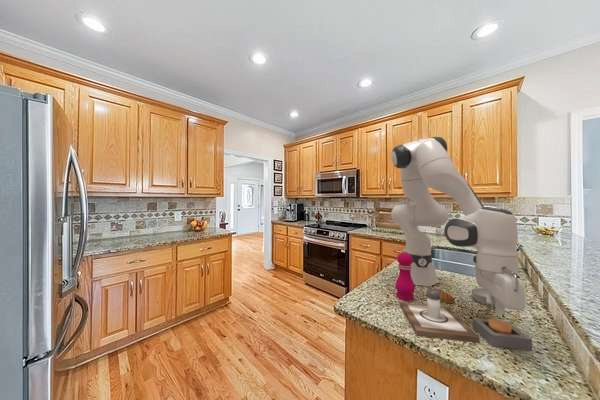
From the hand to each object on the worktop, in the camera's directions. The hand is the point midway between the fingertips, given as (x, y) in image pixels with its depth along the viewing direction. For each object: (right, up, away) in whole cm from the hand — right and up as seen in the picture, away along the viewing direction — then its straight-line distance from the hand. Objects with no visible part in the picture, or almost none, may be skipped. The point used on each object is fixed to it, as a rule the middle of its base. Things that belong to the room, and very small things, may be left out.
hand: (497, 312), depth 62 cm
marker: (-13, -6, +9) cm, 17 cm away
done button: (+1, -5, 0) cm, 6 cm away
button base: (+1, -8, 0) cm, 8 cm away
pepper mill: (-13, -8, +27) cm, 31 cm away
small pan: (+16, -9, +21) cm, 28 cm away
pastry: (0, -9, +27) cm, 28 cm away
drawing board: (-13, -8, +9) cm, 17 cm away
